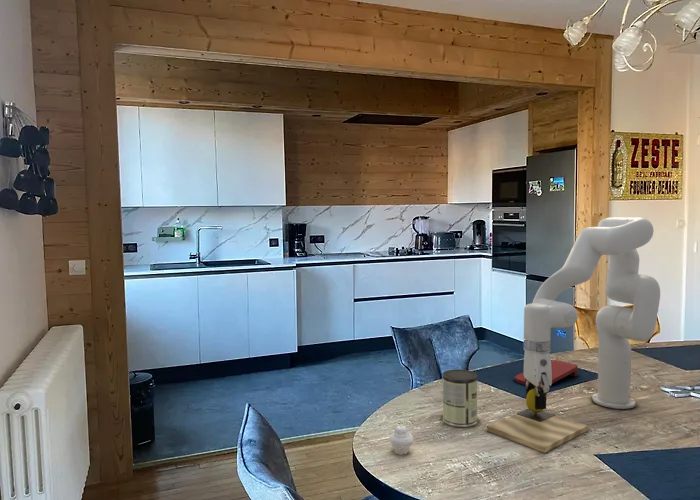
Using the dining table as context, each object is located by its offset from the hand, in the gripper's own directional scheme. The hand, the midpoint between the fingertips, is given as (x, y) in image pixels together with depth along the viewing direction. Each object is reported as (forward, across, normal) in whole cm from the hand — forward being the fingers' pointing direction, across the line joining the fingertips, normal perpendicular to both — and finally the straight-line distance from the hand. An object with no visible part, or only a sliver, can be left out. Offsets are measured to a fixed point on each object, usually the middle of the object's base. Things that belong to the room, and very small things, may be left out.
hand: (535, 404), depth 159 cm
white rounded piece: (+5, -18, +44) cm, 47 cm away
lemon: (+3, 0, 0) cm, 3 cm away
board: (+5, -8, +3) cm, 10 cm away
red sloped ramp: (+5, +37, -21) cm, 43 cm away
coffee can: (+5, +2, +23) cm, 23 cm away
